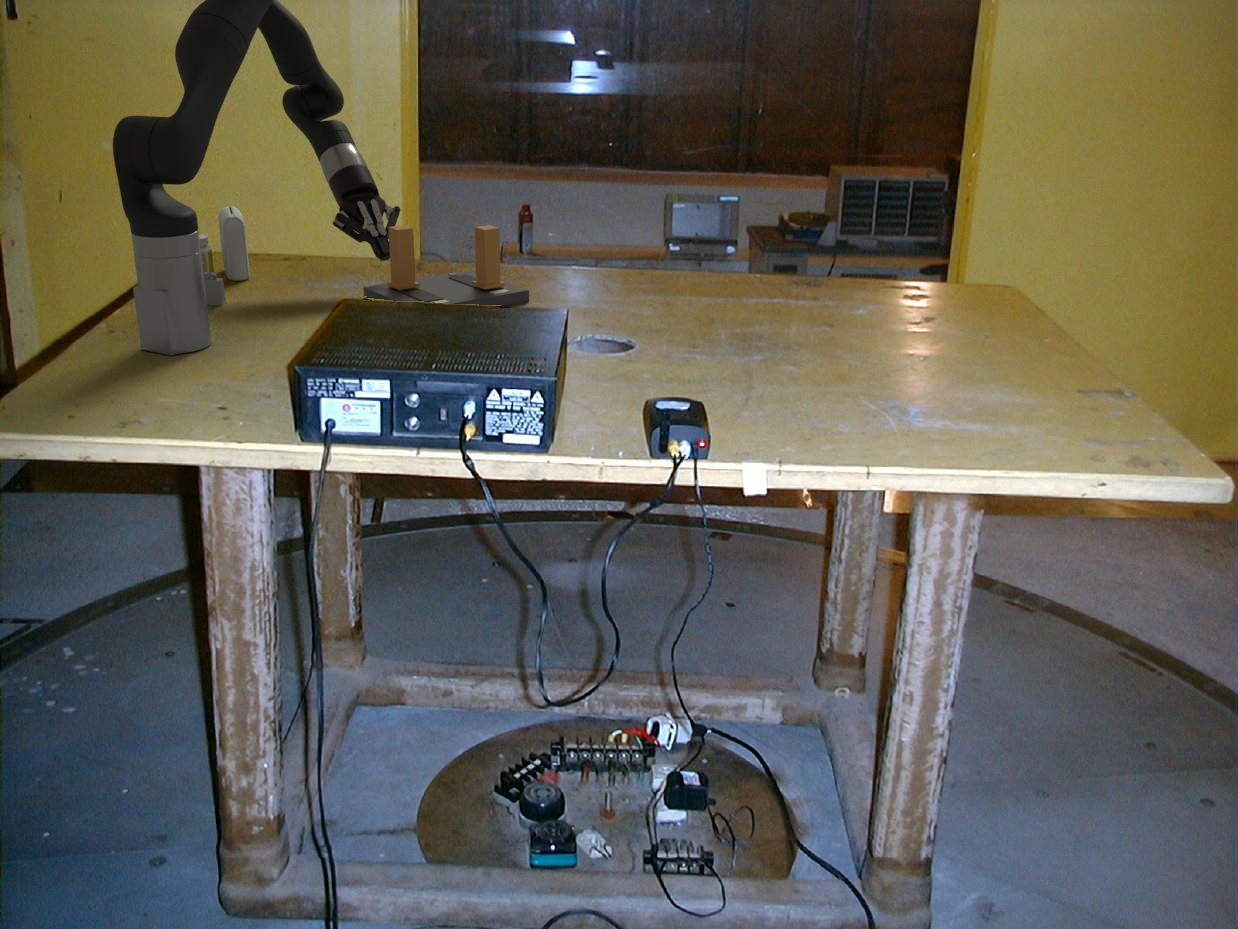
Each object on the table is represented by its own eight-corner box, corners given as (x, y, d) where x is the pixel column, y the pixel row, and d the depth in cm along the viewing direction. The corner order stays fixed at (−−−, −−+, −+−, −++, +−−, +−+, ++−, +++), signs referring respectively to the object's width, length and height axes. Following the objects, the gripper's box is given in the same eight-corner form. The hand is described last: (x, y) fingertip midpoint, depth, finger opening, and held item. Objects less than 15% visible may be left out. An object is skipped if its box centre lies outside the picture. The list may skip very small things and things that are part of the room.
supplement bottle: (204, 278, 220) (199, 232, 217) (220, 282, 218) (215, 236, 215) (181, 283, 217) (176, 236, 214) (198, 287, 214) (192, 240, 211)
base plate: (417, 321, 197) (417, 308, 196) (364, 298, 210) (363, 285, 209) (529, 301, 210) (529, 288, 209) (472, 280, 223) (471, 268, 222)
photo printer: (222, 269, 227) (215, 202, 223) (246, 267, 229) (239, 201, 224) (226, 282, 218) (219, 213, 214) (251, 280, 220) (244, 211, 215)
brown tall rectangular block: (485, 289, 207) (483, 230, 203) (472, 284, 210) (470, 226, 206) (504, 286, 209) (503, 228, 206) (491, 281, 212) (490, 224, 208)
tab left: (399, 289, 206) (396, 230, 202) (387, 285, 208) (384, 226, 205) (419, 286, 208) (417, 228, 204) (407, 281, 211) (405, 224, 207)
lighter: (226, 303, 205) (221, 256, 202) (221, 305, 204) (216, 258, 201) (186, 301, 206) (180, 254, 203) (181, 303, 205) (175, 256, 202)
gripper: (319, 165, 208) (358, 250, 204) (388, 159, 216) (427, 240, 211) (307, 192, 214) (345, 275, 209) (375, 185, 221) (412, 265, 217)
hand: (386, 257), depth 211 cm, fingers closed
